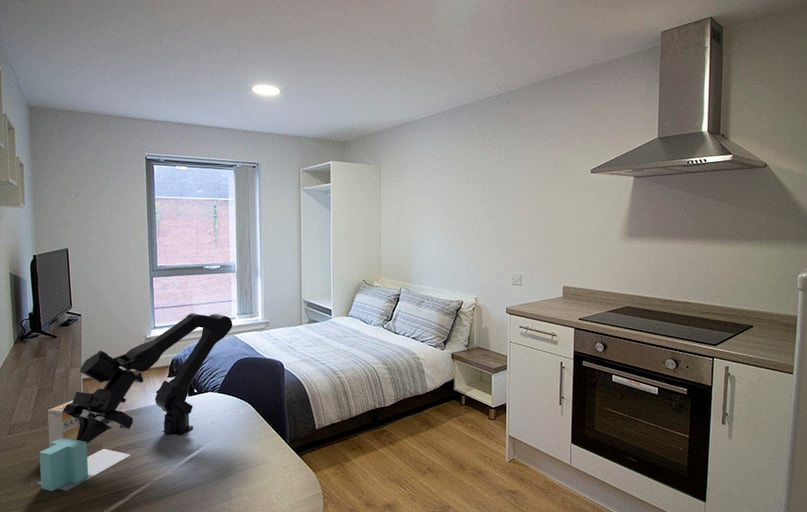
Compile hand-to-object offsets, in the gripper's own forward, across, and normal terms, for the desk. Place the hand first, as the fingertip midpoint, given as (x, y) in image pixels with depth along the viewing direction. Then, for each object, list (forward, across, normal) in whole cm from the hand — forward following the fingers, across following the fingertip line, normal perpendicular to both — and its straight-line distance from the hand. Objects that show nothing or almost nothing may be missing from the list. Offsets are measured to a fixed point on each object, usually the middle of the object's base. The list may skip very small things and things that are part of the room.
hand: (76, 448), depth 110 cm
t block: (+7, 0, +2) cm, 7 cm away
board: (+3, 0, +7) cm, 7 cm away
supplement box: (-1, -15, +12) cm, 19 cm away
